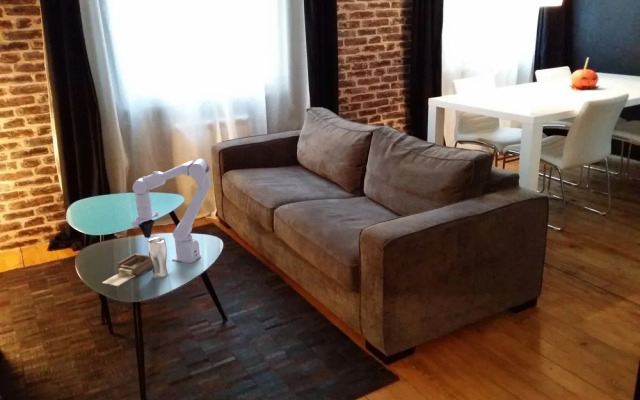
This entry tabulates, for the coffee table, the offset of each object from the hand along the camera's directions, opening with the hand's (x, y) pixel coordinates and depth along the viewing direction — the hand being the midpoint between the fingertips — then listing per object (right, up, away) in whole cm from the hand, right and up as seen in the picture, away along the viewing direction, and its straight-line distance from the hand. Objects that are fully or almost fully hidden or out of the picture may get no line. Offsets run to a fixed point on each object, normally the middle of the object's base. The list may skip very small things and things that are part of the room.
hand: (147, 237), depth 257 cm
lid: (-7, -16, -16) cm, 24 cm away
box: (-2, -13, -7) cm, 15 cm away
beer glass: (+9, -15, -13) cm, 22 cm away
